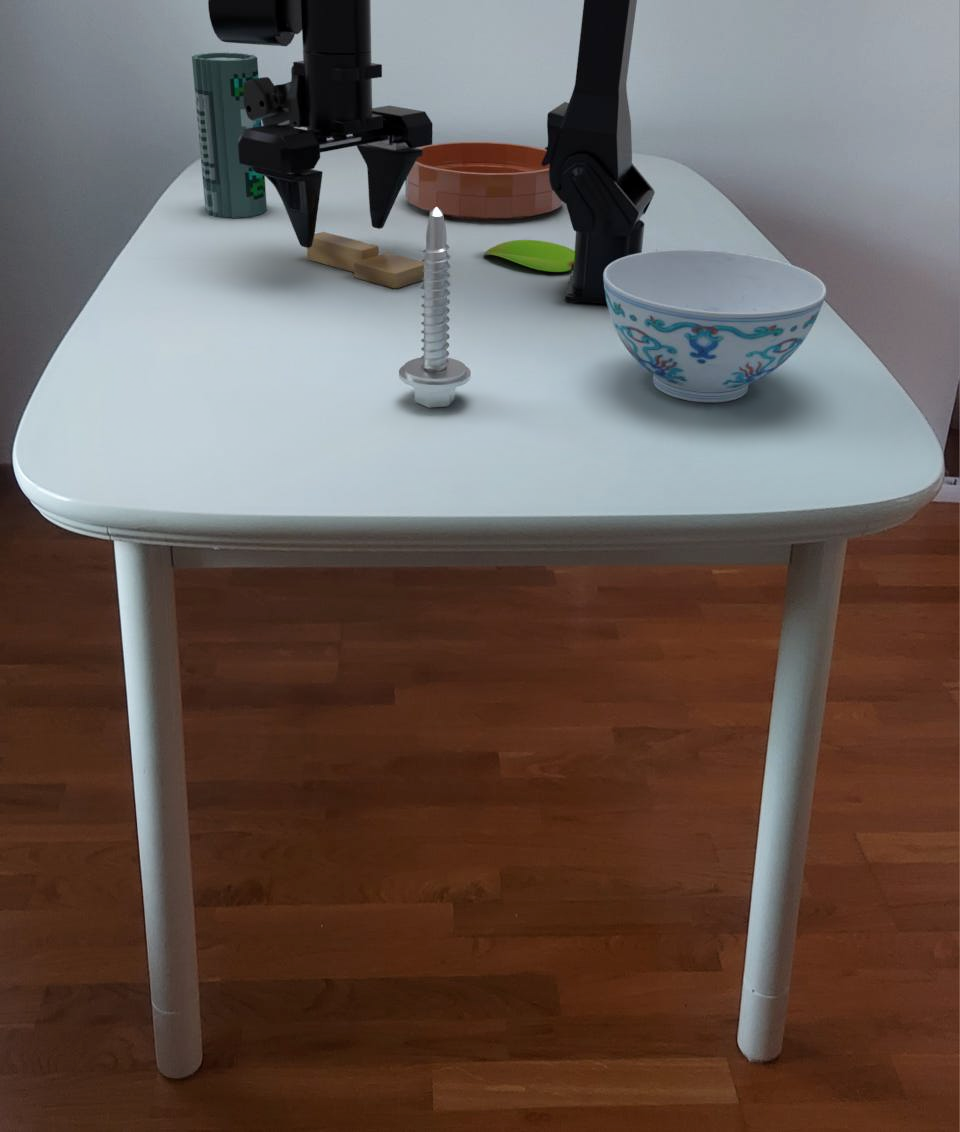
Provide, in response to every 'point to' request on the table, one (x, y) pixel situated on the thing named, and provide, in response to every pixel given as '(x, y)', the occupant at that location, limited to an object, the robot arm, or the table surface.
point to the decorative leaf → (536, 254)
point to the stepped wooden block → (365, 260)
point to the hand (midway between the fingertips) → (342, 237)
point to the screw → (435, 327)
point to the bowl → (482, 181)
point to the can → (226, 134)
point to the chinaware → (710, 317)
